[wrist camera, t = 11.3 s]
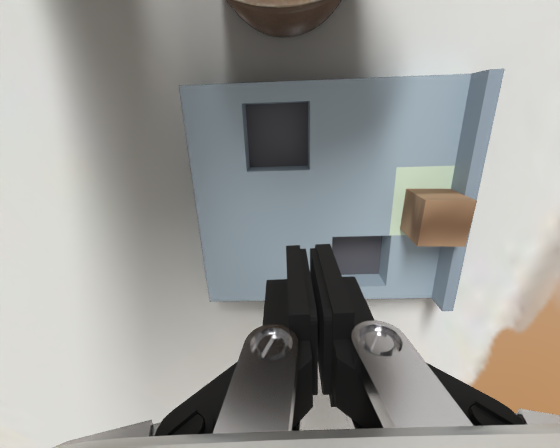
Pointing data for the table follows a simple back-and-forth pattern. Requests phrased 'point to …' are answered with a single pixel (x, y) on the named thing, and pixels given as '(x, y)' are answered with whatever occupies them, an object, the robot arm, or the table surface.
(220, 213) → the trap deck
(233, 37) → the table surface
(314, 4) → the plant pot
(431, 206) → the walnut cube
